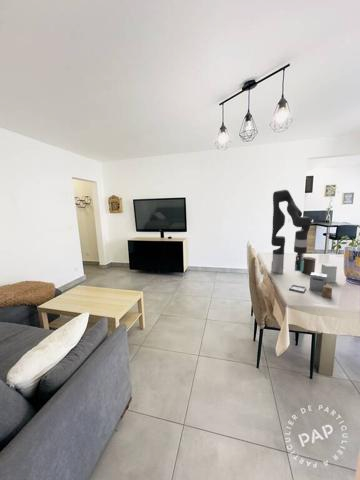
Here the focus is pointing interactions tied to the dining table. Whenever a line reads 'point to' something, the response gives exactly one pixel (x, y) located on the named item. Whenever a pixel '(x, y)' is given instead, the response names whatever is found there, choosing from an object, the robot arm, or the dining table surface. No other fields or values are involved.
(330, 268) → the supplement box
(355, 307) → the dining table surface
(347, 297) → the dining table surface
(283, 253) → the robot arm
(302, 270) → the teal block
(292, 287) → the tray
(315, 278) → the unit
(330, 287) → the walnut block
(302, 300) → the dining table surface
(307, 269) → the pillar candle
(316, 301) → the dining table surface
